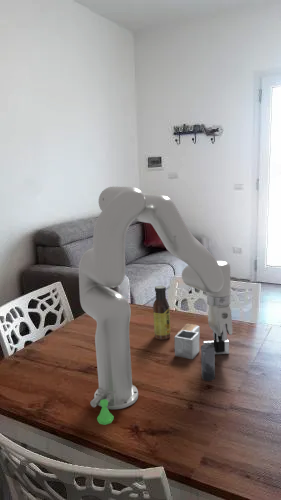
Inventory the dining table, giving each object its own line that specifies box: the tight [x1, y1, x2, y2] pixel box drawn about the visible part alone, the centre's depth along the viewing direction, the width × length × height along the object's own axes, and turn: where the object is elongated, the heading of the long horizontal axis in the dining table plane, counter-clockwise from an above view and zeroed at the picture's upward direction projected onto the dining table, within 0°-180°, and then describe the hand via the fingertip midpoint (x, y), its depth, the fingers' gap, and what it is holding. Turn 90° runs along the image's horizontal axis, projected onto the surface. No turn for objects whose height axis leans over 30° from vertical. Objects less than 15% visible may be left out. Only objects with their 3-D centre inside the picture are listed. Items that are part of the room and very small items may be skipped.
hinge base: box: [174, 323, 201, 360], centre depth 145 cm, size 18×9×7 cm, turn 151°
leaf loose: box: [202, 339, 230, 355], centre depth 138 cm, size 8×1×4 cm, turn 91°
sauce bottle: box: [152, 285, 171, 340], centre depth 152 cm, size 6×6×20 cm
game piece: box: [96, 399, 115, 426], centre depth 105 cm, size 4×4×6 cm
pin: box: [200, 344, 216, 382], centre depth 123 cm, size 4×4×10 cm
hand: (219, 351), depth 134 cm, fingers closed
